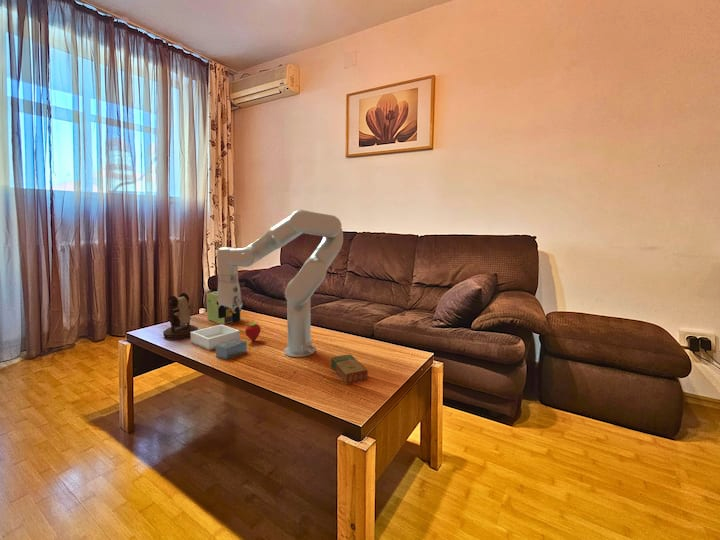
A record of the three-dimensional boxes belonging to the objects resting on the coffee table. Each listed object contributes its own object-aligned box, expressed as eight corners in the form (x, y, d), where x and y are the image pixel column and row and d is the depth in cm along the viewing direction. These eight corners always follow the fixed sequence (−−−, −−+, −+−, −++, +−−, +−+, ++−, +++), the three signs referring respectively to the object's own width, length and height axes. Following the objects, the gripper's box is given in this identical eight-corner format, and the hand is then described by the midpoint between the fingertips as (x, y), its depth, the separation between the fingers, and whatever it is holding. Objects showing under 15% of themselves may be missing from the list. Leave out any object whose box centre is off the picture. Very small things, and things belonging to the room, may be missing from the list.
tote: (240, 341, 158) (239, 330, 157) (209, 350, 146) (208, 339, 145) (221, 334, 167) (221, 324, 166) (191, 342, 155) (190, 332, 154)
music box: (182, 341, 156) (179, 298, 153) (156, 338, 160) (152, 296, 157) (205, 332, 170) (202, 292, 167) (180, 329, 174) (177, 290, 171)
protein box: (224, 324, 182) (223, 296, 180) (207, 320, 191) (205, 292, 188) (241, 320, 191) (240, 292, 189) (223, 315, 199) (222, 289, 197)
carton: (345, 385, 117) (345, 373, 117) (330, 367, 132) (330, 356, 131) (368, 381, 120) (368, 369, 120) (350, 363, 135) (350, 353, 134)
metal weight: (246, 352, 145) (246, 341, 144) (226, 360, 136) (226, 348, 136) (236, 349, 148) (235, 338, 148) (216, 357, 140) (215, 345, 139)
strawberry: (242, 342, 156) (241, 321, 155) (254, 337, 162) (254, 317, 161) (251, 345, 153) (250, 323, 152) (264, 340, 160) (263, 319, 158)
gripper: (249, 279, 136) (250, 322, 138) (224, 274, 146) (225, 314, 148) (232, 282, 130) (233, 326, 132) (207, 276, 140) (208, 317, 142)
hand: (229, 319), depth 140 cm, fingers open, 9 cm apart
